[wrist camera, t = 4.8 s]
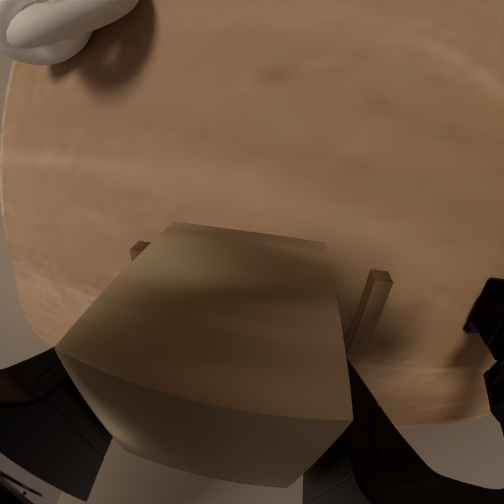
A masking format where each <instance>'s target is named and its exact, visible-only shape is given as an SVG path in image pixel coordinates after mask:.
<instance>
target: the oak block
mask: <svg viewBox="0 0 504 504" xmlns="http://www.w3.org/2000/svg"><path fill="white" fill-rule="evenodd" d="M54 349H55V351H56V353H57V355H58V357H59V359H60V360H61V362H62V364H63V366H64V367H65V369H66V371H67V373H68V374H69V376H70V377H71V379H72V381H73V382H74V384H75V385H76V387H77V389H78V390H79V392H80V393H81V395H82V396H83V398H84V399H85V401H86V402H87V403H88V405H89V406H90V408H91V409H92V410H93V412H94V413H95V415H96V416H97V417H98V419H99V420H100V421H101V423H102V424H103V425H104V426H105V428H106V429H107V430H108V431H109V433H110V434H111V435H112V436H113V437H114V439H115V440H116V441H117V442H118V443H119V444H120V446H121V447H122V448H123V449H124V450H125V451H128V452H130V453H132V454H135V455H137V456H140V457H143V458H145V459H148V460H151V461H154V462H157V463H160V464H163V465H166V466H169V467H172V468H175V469H179V470H182V471H186V472H190V473H193V474H197V475H202V476H206V477H210V478H215V479H220V480H225V481H230V482H236V483H243V484H250V485H258V486H267V487H278V488H288V487H289V486H290V485H291V484H292V483H294V482H295V481H296V480H297V479H298V478H299V477H300V476H301V475H302V474H303V473H304V472H306V471H307V470H308V469H309V468H310V467H311V466H312V465H313V464H314V463H315V462H316V461H317V460H318V459H319V458H320V457H321V456H322V455H323V454H324V453H325V452H326V451H327V449H328V448H329V447H330V446H331V445H332V444H333V443H334V442H335V441H336V440H337V439H338V437H339V436H340V435H341V434H342V433H343V432H344V431H345V429H346V428H347V427H348V426H349V425H350V423H351V422H352V421H353V410H352V400H351V391H350V382H349V374H348V366H347V359H346V352H345V345H344V338H343V332H342V326H341V320H340V314H339V309H338V303H337V298H336V292H335V287H334V282H333V277H332V272H331V268H330V263H329V258H328V254H327V249H326V245H325V243H324V242H317V241H311V240H304V239H297V238H290V237H284V236H277V235H270V234H263V233H255V232H248V231H241V230H234V229H226V228H219V227H211V226H203V225H195V224H187V223H179V222H173V223H172V224H171V225H170V226H168V227H167V228H166V229H165V230H164V231H163V232H162V233H161V234H160V235H159V236H158V237H157V238H156V239H155V240H154V241H153V242H152V243H151V244H149V245H148V246H147V247H146V248H145V249H144V250H143V251H142V252H141V253H140V254H139V255H138V256H137V257H136V258H135V259H134V260H133V261H132V262H131V263H130V264H129V265H128V266H127V267H126V268H125V269H124V270H123V271H122V272H121V273H120V275H119V276H118V277H117V278H116V279H115V280H114V281H113V282H112V283H111V284H110V285H109V286H108V287H107V288H106V289H105V290H104V291H103V292H102V294H101V295H100V296H99V297H98V298H97V299H96V300H95V301H94V302H93V303H92V305H91V306H90V307H89V308H88V309H87V310H86V311H85V312H84V314H83V315H82V316H81V317H80V318H79V319H78V320H77V322H76V323H75V324H74V325H73V326H72V327H71V329H70V330H69V331H68V332H67V333H66V334H65V336H64V337H63V338H62V339H61V341H60V342H59V343H58V344H57V345H56V347H55V348H54Z"/></svg>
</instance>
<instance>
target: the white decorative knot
mask: <svg viewBox="0 0 504 504" xmlns="http://www.w3.org/2000/svg"><path fill="white" fill-rule="evenodd" d="M36 1H41V0H0V50H1V51H2V52H3V53H5V54H6V55H8V56H9V57H11V58H13V59H15V60H17V61H20V62H23V63H27V64H31V65H52V64H57V63H60V62H63V61H66V60H68V59H69V58H71V57H73V56H74V55H75V54H77V53H78V52H79V51H81V50H82V49H83V48H84V46H85V45H86V44H87V42H88V40H89V38H90V37H91V35H92V33H93V30H96V29H99V28H101V27H103V26H106V25H108V24H110V23H112V22H114V21H116V20H118V19H119V18H121V17H123V16H124V15H126V14H127V13H129V12H130V11H131V10H133V9H134V7H135V6H136V5H137V3H138V1H139V0H47V1H44V2H41V3H38V4H35V5H32V6H29V7H28V8H26V9H25V10H23V9H24V8H25V7H26V6H27V5H29V4H31V3H33V2H36Z"/></svg>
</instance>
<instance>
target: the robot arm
mask: <svg viewBox="0 0 504 504" xmlns="http://www.w3.org/2000/svg"><path fill="white" fill-rule="evenodd" d="M464 330H465V332H466V333H479V334H480V336H481V338H482V339H483V341H484V343H485V345H486V346H488V348H489V350H490V352H491V354H492V355H493V357H494V359H495V360H497V361H496V363H495V364H494V365H493V366H492V367H491V368H490V369H489V370H487V371H486V372H485V373H484V379H485V385H486V389H487V394H488V399H489V404H490V410H491V412H492V414H493V416H495V418H496V419H497V420H498V421H499V422H500V424H501V427H502V431H503V435H504V279H498V278H490V279H489V280H488V282H487V284H486V286H485V288H484V291H483V293H482V295H481V297H480V299H479V301H478V303H477V305H476V307H475V309H474V311H473V312H472V314H471V316H470V318H469V320H468V322H467V323H466V325H465V327H464ZM55 347H56V346H55ZM55 347H53V348H51V349H49V350H47V351H45V352H43V353H41V354H38V355H36V356H34V357H32V358H29V359H27V360H25V361H22V362H20V363H17V364H15V365H13V366H10V367H8V368H5V369H1V370H0V504H57V502H58V499H59V497H60V495H61V493H62V491H64V492H65V493H67V494H70V495H72V496H74V497H76V498H78V499H81V500H83V501H87V500H88V497H89V495H90V492H91V489H92V487H93V484H94V482H95V479H96V476H97V474H98V472H99V469H100V467H101V464H102V462H103V459H104V456H105V454H106V452H107V449H108V447H109V445H110V442H111V440H112V438H113V436H112V435H111V434H110V433H109V431H108V430H107V429H106V428H105V426H104V425H103V424H102V423H101V421H100V420H99V419H98V417H97V416H96V415H95V413H94V412H93V410H92V409H91V408H90V406H89V405H88V403H87V402H86V401H85V399H84V398H83V396H82V395H81V393H80V392H79V390H78V389H77V387H76V385H75V384H74V382H73V381H72V379H71V377H70V376H69V374H68V373H67V371H66V369H65V367H64V366H63V364H62V362H61V360H60V359H59V357H58V355H57V353H56V351H55V349H54V348H55ZM346 359H347V366H348V374H349V382H350V391H351V400H352V410H353V421H352V422H351V423H350V425H349V426H348V427H347V428H346V429H345V431H344V432H343V433H342V434H341V435H340V436H339V437H338V439H337V440H336V441H335V442H334V443H333V444H332V445H331V446H330V447H329V448H328V449H327V451H326V452H325V453H324V454H323V455H322V456H321V457H320V458H319V459H318V460H317V461H316V462H315V463H314V464H313V465H312V466H311V467H310V468H309V469H308V470H307V471H306V472H304V473H303V504H504V488H503V489H488V488H483V487H479V486H475V485H471V484H468V483H464V482H461V481H458V480H454V479H451V478H448V477H445V476H442V475H440V474H438V473H436V472H435V471H433V470H432V469H431V468H430V467H428V466H427V465H426V464H425V462H424V461H423V460H422V459H421V458H420V456H419V455H418V454H417V453H416V452H415V451H414V450H413V448H412V447H411V446H410V445H409V444H408V443H407V441H406V440H405V439H404V438H403V437H402V435H401V434H400V433H399V432H398V430H397V429H396V428H395V427H394V425H393V424H392V422H391V421H390V420H389V418H388V417H387V415H386V414H385V413H384V411H383V410H382V408H381V407H380V405H378V402H377V401H376V399H375V398H374V396H373V395H372V393H371V392H370V391H369V389H368V388H367V386H366V385H365V383H364V382H363V380H362V379H361V377H360V376H359V374H358V373H357V371H356V370H355V369H354V367H353V366H352V364H351V363H350V361H349V360H348V358H347V357H346Z"/></svg>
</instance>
